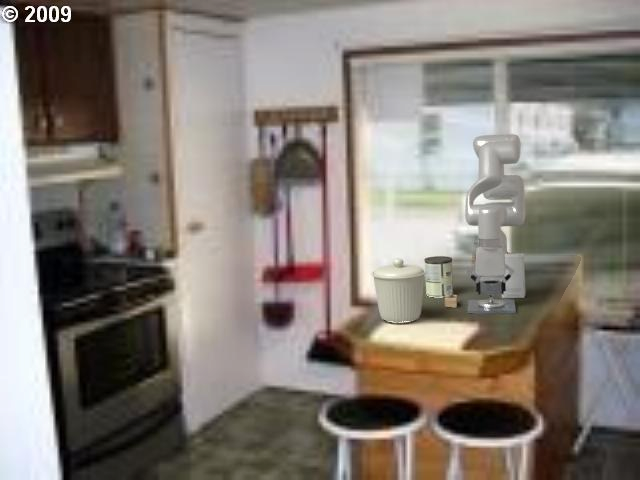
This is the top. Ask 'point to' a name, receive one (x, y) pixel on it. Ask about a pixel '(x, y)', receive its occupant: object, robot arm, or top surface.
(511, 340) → the top surface
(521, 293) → the skincare box
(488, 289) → the plate ring
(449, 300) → the stand
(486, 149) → the robot arm
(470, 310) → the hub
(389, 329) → the top surface
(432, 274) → the coffee can
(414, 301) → the canister
